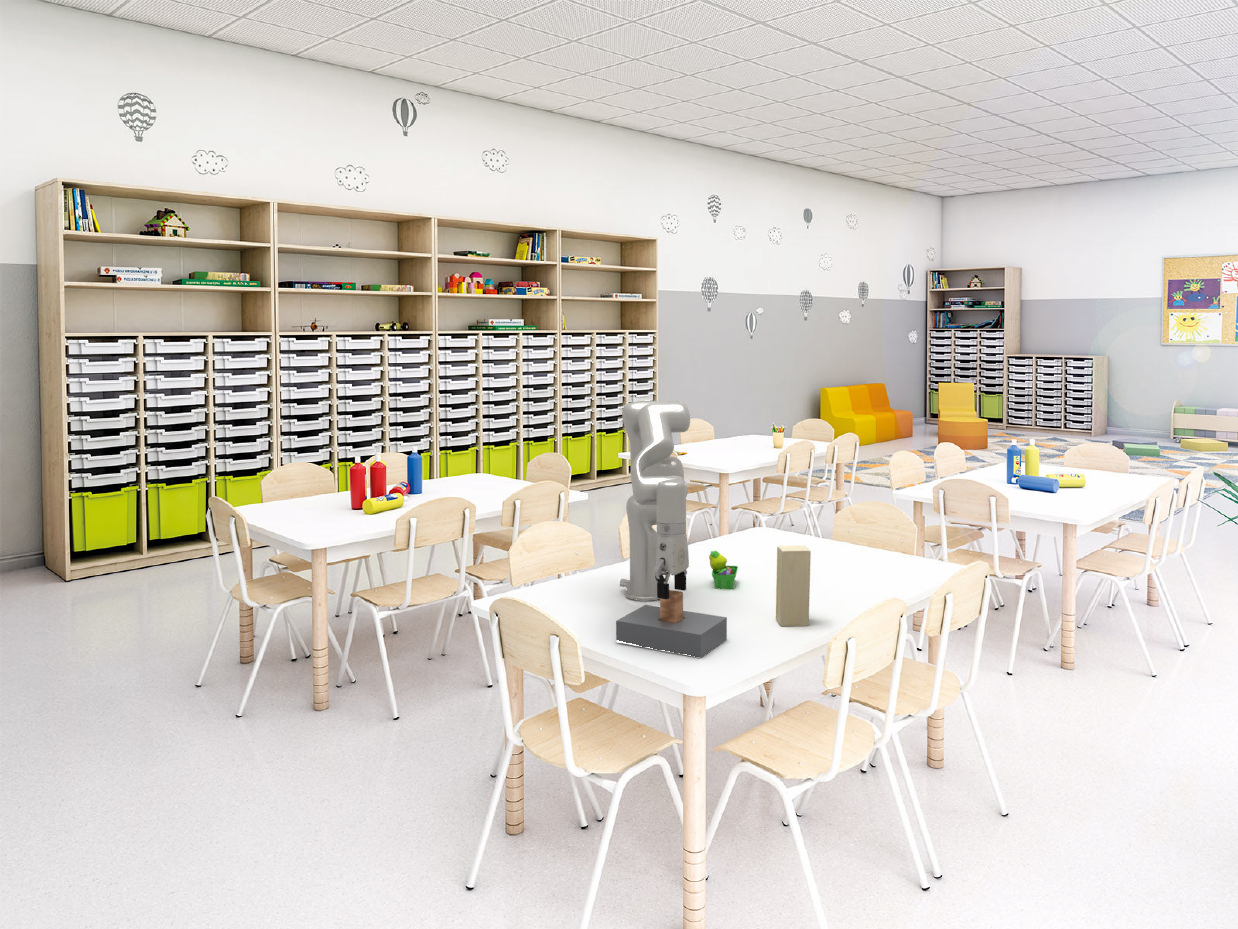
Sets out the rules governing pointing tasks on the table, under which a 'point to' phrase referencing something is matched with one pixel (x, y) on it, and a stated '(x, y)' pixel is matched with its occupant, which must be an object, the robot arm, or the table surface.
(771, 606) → the table surface
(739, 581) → the table surface
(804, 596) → the tall beige block
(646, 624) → the grey block with hole
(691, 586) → the table surface
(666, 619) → the wooden block
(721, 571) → the fruit basket
